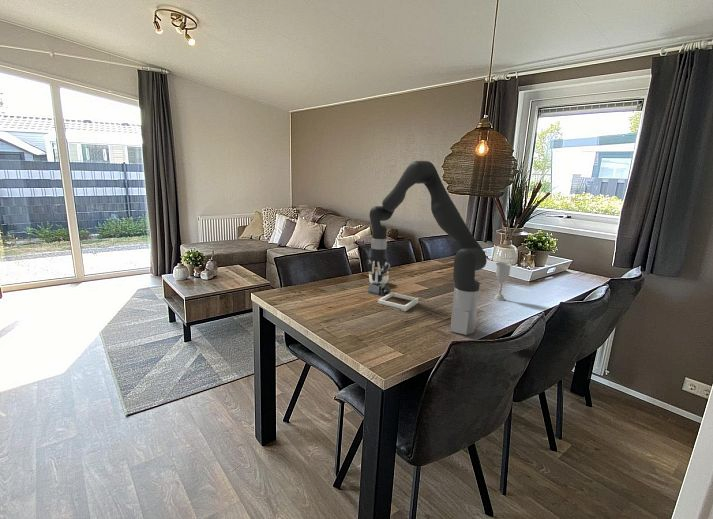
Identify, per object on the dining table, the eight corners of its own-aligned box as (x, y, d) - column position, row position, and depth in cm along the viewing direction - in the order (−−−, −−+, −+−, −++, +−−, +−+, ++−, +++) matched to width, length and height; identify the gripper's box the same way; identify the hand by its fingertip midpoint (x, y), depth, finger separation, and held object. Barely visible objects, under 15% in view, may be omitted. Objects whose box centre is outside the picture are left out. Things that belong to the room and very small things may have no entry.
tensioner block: (386, 299, 182) (386, 289, 181) (364, 294, 188) (365, 284, 187) (394, 294, 190) (395, 285, 189) (373, 289, 196) (374, 280, 195)
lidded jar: (366, 287, 200) (367, 270, 198) (370, 281, 210) (371, 265, 208) (386, 289, 198) (387, 272, 196) (389, 283, 208) (390, 267, 206)
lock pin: (377, 293, 188) (379, 267, 185) (372, 291, 189) (373, 266, 186) (380, 291, 190) (382, 266, 187) (375, 290, 192) (376, 265, 189)
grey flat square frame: (405, 311, 167) (405, 306, 167) (377, 305, 174) (377, 299, 174) (417, 303, 179) (418, 298, 178) (391, 297, 186) (391, 292, 185)
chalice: (506, 297, 191) (511, 263, 187) (507, 302, 185) (512, 266, 181) (491, 296, 193) (495, 261, 189) (491, 300, 187) (496, 265, 183)
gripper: (362, 246, 185) (361, 280, 189) (387, 250, 178) (385, 285, 182) (370, 244, 191) (368, 277, 195) (394, 247, 184) (392, 282, 188)
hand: (377, 281), depth 189 cm, fingers closed on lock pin, 2 cm apart
